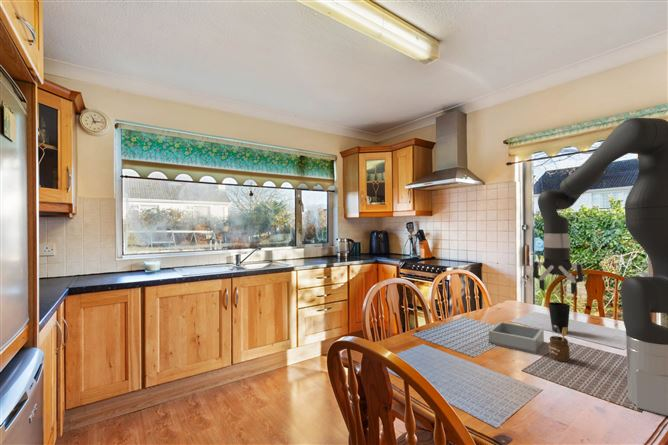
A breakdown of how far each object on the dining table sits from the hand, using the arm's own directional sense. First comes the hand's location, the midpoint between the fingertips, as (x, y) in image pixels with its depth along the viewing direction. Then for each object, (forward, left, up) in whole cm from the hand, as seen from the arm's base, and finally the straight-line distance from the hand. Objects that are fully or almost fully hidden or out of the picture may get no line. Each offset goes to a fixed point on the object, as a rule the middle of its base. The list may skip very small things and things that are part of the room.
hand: (557, 292), depth 110 cm
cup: (+34, +4, -24) cm, 42 cm away
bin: (+7, +15, -23) cm, 29 cm away
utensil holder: (0, 0, -24) cm, 24 cm away
